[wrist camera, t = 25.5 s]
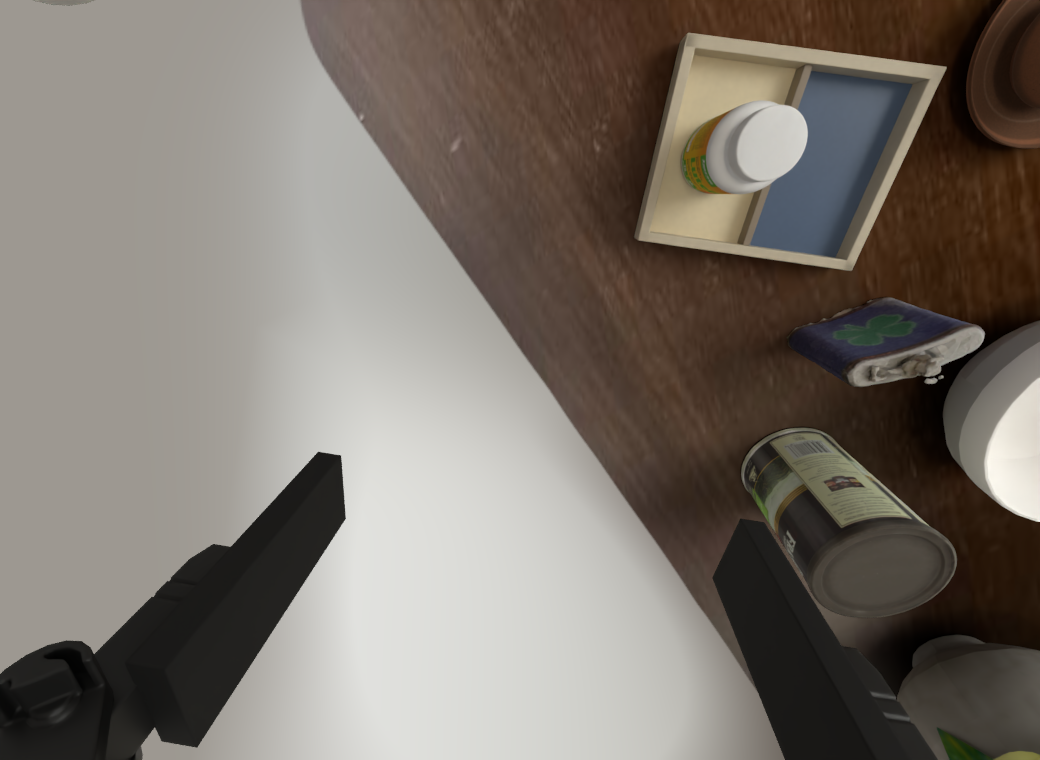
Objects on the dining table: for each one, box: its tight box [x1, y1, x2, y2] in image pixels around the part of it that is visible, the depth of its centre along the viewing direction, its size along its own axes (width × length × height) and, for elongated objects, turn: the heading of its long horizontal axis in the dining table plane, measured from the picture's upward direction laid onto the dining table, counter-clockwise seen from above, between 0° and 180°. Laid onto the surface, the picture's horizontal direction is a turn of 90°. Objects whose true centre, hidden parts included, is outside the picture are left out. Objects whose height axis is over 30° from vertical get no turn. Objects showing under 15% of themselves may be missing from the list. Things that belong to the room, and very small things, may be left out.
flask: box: [786, 297, 985, 387], centre depth 33 cm, size 9×3×11 cm, turn 115°
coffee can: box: [741, 428, 957, 618], centre depth 38 cm, size 10×10×14 cm
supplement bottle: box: [681, 100, 808, 194], centre depth 28 cm, size 5×5×10 cm
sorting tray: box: [634, 33, 947, 271], centre depth 32 cm, size 18×14×2 cm
